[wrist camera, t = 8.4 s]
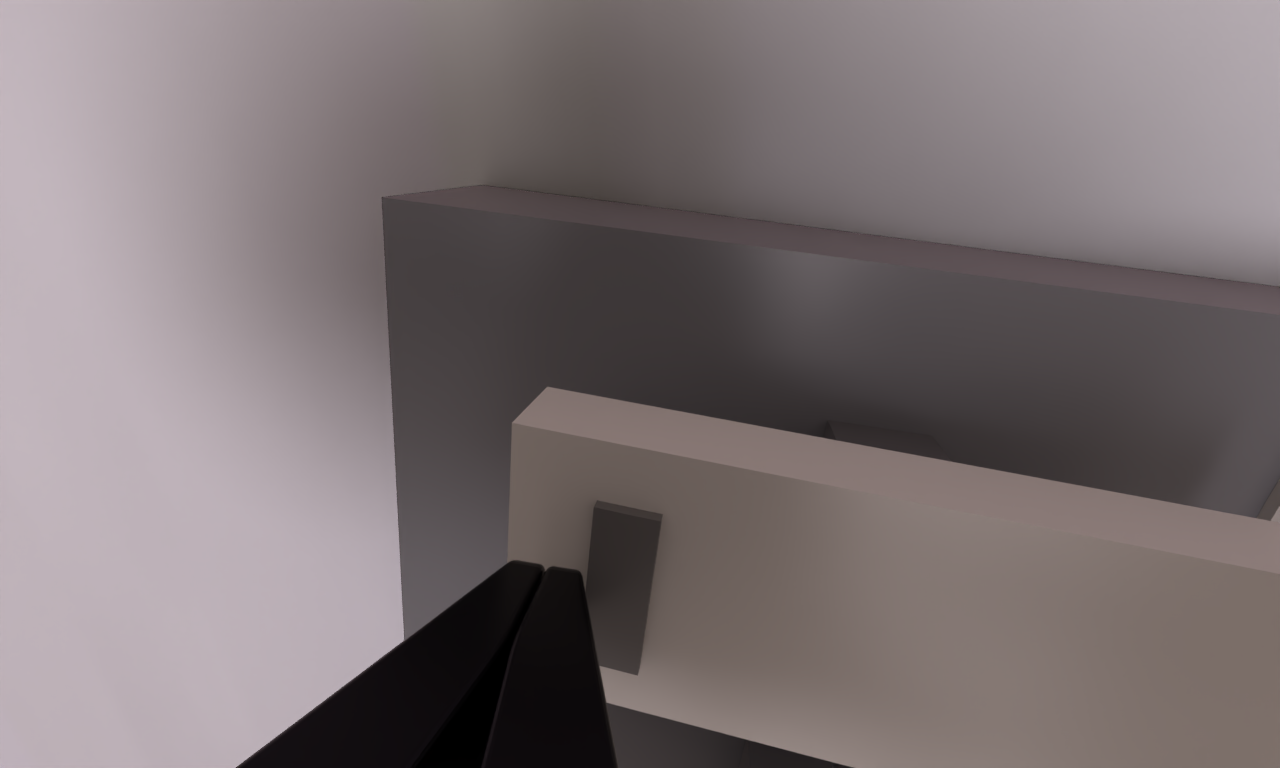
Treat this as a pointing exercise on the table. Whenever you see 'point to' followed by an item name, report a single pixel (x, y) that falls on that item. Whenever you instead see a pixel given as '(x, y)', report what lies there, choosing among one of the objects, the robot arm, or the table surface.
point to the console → (798, 370)
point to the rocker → (899, 597)
